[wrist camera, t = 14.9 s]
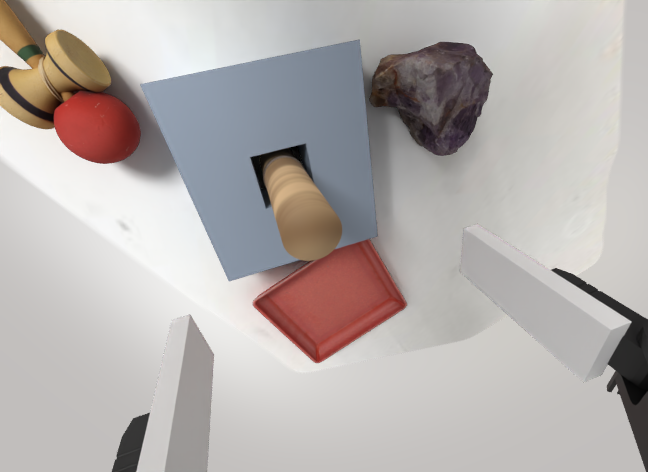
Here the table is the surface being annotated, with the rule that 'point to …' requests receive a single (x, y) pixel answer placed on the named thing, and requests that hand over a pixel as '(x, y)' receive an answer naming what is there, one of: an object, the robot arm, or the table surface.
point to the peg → (299, 207)
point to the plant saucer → (332, 300)
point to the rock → (435, 93)
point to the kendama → (65, 93)
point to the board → (269, 146)
